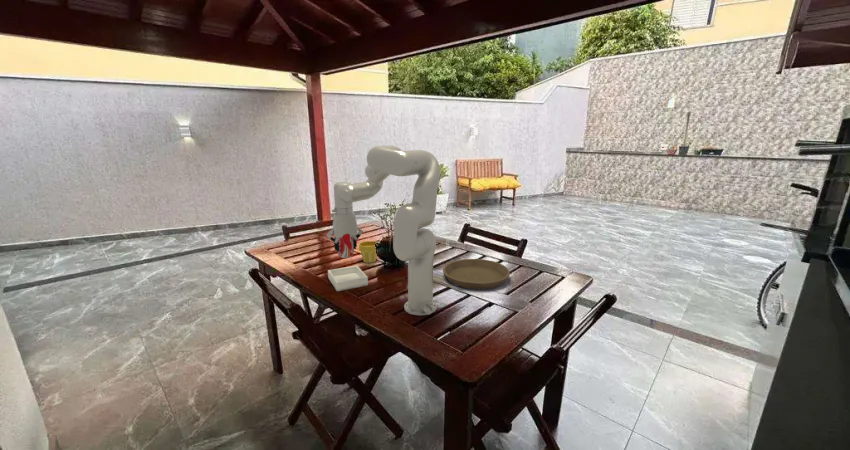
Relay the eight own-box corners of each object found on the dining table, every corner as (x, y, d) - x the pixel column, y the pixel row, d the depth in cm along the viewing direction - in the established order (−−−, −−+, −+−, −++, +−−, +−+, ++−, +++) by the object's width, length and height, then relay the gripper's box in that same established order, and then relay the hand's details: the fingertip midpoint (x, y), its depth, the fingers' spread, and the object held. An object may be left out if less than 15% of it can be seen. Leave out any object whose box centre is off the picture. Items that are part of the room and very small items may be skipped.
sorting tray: (368, 285, 157) (367, 276, 156) (336, 291, 151) (336, 282, 150) (357, 273, 171) (356, 265, 170) (328, 278, 164) (327, 270, 164)
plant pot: (358, 258, 191) (357, 241, 189) (377, 256, 194) (376, 239, 192) (361, 265, 182) (360, 247, 179) (380, 263, 185) (380, 245, 182)
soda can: (350, 259, 154) (349, 233, 151) (335, 258, 155) (333, 232, 152) (356, 254, 161) (355, 228, 158) (342, 253, 162) (340, 228, 159)
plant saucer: (432, 284, 159) (432, 274, 158) (456, 262, 186) (456, 254, 185) (500, 297, 146) (500, 287, 145) (515, 272, 173) (515, 263, 172)
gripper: (325, 214, 146) (328, 255, 150) (365, 210, 153) (367, 249, 158) (321, 211, 152) (324, 250, 156) (360, 207, 160) (362, 244, 164)
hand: (345, 249), depth 157 cm, fingers closed on soda can, 7 cm apart
